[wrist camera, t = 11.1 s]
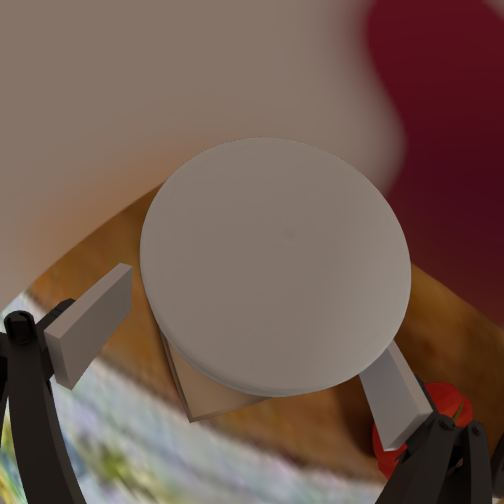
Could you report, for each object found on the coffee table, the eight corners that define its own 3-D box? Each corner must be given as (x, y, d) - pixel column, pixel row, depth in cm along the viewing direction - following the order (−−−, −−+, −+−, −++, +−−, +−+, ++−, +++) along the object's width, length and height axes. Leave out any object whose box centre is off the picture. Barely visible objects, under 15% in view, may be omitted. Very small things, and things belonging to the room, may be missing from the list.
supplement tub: (289, 395, 20) (409, 416, 7) (168, 369, 20) (89, 358, 6) (308, 281, 24) (406, 172, 11) (199, 255, 24) (191, 112, 10)
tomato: (386, 369, 26) (441, 360, 18) (443, 407, 24) (497, 404, 16) (334, 456, 21) (381, 480, 13) (402, 484, 20) (452, 501, 12)
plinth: (277, 251, 29) (286, 232, 26) (324, 370, 25) (342, 369, 21) (152, 284, 26) (143, 270, 23) (192, 417, 22) (188, 425, 18)
